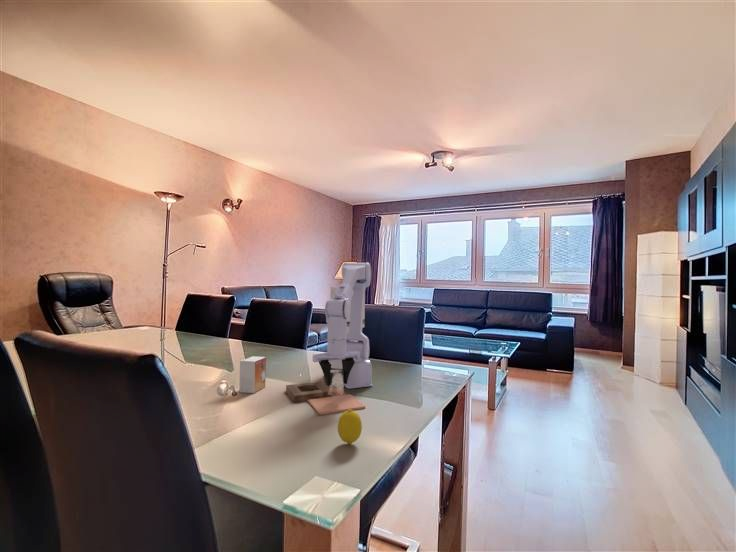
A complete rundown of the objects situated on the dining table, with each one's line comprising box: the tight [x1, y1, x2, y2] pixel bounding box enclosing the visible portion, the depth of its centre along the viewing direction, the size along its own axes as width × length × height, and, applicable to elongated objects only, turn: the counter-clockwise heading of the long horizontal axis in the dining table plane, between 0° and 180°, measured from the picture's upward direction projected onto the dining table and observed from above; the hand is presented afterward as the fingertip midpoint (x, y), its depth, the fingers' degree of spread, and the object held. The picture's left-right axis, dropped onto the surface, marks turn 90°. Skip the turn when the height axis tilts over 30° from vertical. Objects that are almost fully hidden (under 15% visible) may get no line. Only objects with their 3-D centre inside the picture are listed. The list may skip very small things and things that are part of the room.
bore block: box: [285, 381, 333, 403], centre depth 119 cm, size 12×12×2 cm
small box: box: [238, 355, 267, 394], centre depth 124 cm, size 8×6×10 cm
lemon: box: [337, 409, 363, 445], centre depth 83 cm, size 6×6×8 cm
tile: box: [307, 394, 366, 416], centre depth 109 cm, size 14×12×1 cm
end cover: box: [327, 370, 345, 397], centre depth 110 cm, size 5×5×6 cm
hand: (336, 384), depth 110 cm, fingers closed on end cover, 5 cm apart
